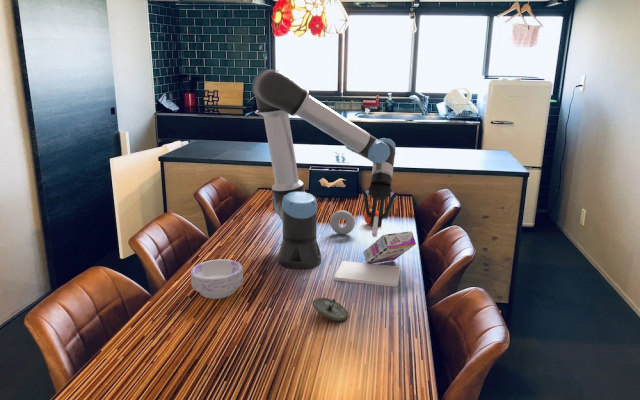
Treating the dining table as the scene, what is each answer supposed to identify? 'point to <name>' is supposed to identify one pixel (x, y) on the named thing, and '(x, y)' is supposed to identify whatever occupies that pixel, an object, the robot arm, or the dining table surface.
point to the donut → (338, 227)
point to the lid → (330, 309)
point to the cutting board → (368, 273)
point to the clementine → (368, 219)
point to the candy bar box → (389, 247)
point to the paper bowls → (217, 278)
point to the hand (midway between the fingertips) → (374, 235)
